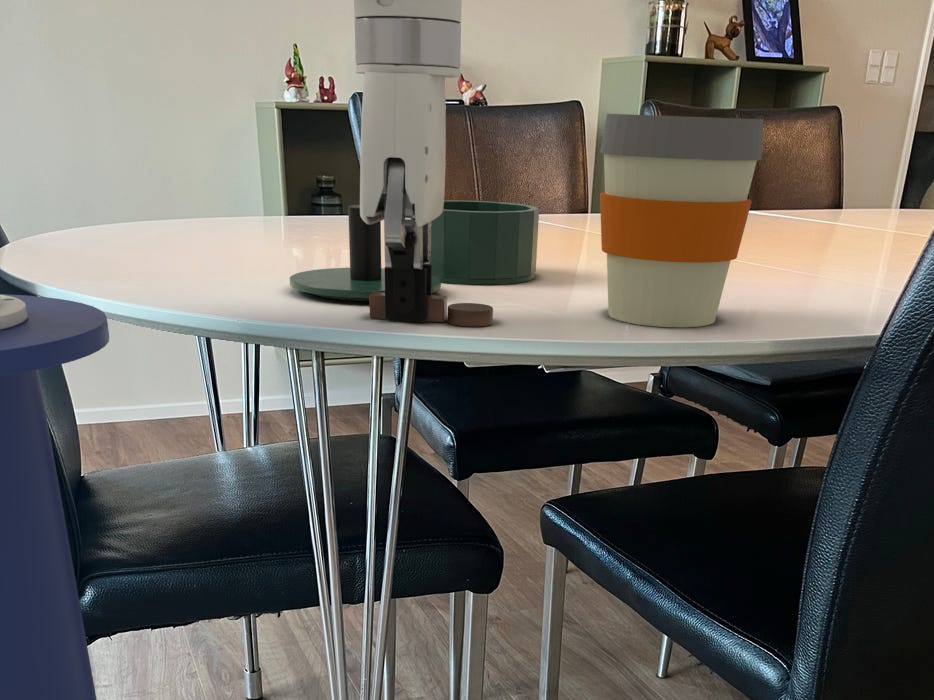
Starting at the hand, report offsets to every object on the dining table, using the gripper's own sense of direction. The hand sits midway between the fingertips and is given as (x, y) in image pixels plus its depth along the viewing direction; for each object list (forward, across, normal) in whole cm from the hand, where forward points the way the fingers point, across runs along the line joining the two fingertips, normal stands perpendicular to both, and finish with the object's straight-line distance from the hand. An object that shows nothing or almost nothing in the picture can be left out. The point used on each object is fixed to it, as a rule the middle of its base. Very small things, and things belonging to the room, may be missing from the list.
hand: (408, 317), depth 80 cm
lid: (0, -11, -6) cm, 13 cm away
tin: (0, -26, +2) cm, 26 cm away
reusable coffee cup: (0, -7, +20) cm, 22 cm away
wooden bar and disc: (0, 0, +2) cm, 3 cm away
